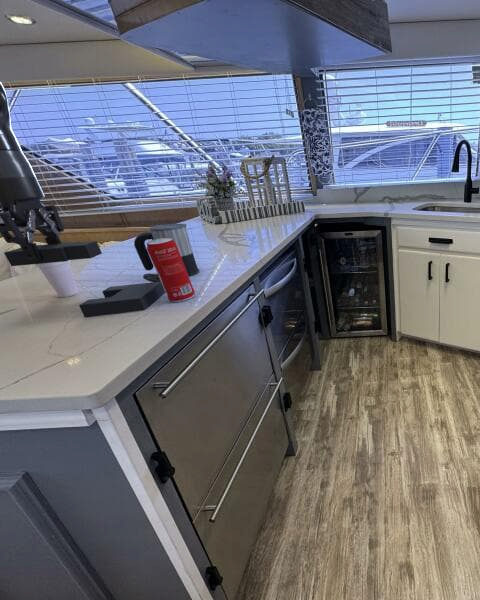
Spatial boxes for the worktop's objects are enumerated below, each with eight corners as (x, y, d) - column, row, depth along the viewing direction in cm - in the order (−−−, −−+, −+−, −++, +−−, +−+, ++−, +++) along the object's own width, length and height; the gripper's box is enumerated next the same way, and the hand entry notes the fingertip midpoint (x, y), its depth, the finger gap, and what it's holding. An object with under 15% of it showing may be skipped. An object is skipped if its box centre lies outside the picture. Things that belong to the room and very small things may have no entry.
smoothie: (45, 298, 84) (18, 246, 78) (73, 289, 90) (50, 240, 84) (63, 299, 83) (37, 246, 77) (90, 290, 88) (67, 240, 83)
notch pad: (84, 317, 72) (78, 305, 71) (114, 297, 83) (109, 286, 82) (144, 310, 74) (140, 298, 73) (166, 291, 85) (162, 281, 84)
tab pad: (11, 266, 68) (3, 252, 66) (33, 258, 73) (26, 245, 72) (88, 259, 70) (82, 246, 69) (104, 252, 76) (99, 240, 75)
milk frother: (197, 267, 105) (183, 221, 99) (207, 278, 94) (192, 228, 88) (144, 277, 97) (125, 228, 91) (148, 291, 86) (127, 236, 80)
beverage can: (200, 293, 83) (182, 235, 77) (185, 303, 77) (165, 242, 71) (177, 294, 83) (157, 236, 77) (160, 304, 77) (138, 243, 71)
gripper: (15, 175, 70) (51, 250, 77) (-52, 178, 57) (-2, 268, 64) (56, 174, 72) (88, 247, 78) (-1, 176, 59) (43, 264, 65)
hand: (48, 256), depth 71 cm, fingers closed on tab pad, 6 cm apart
